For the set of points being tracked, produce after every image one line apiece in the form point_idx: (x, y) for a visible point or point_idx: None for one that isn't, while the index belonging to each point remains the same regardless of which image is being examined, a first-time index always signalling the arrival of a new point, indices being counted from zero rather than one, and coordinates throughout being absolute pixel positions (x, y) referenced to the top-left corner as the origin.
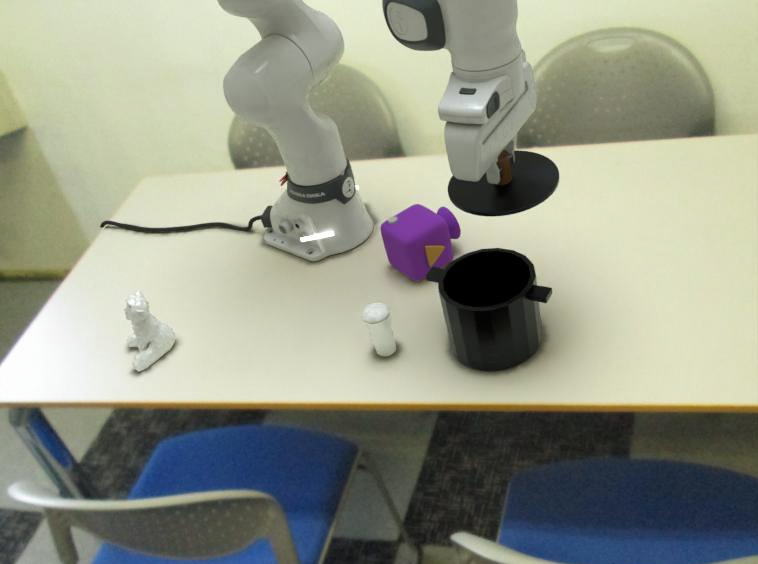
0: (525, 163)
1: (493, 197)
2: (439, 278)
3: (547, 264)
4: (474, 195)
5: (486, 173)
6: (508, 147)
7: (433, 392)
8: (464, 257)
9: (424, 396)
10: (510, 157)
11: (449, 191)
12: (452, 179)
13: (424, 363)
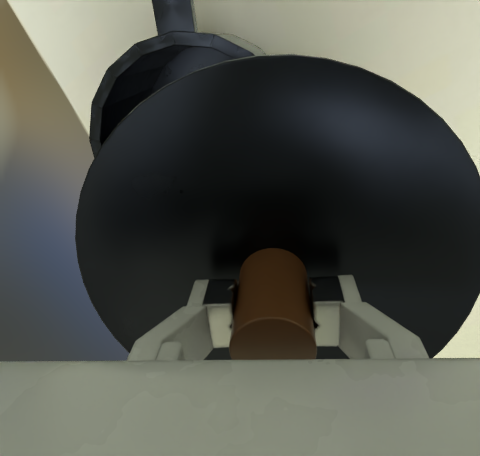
0: (394, 303)
1: (170, 291)
2: (143, 42)
3: (427, 104)
4: (153, 228)
5: (189, 301)
6: (357, 347)
7: (74, 82)
8: (235, 58)
9: (59, 73)
10: (320, 343)
11: (134, 118)
12: (217, 77)
13: (113, 26)
